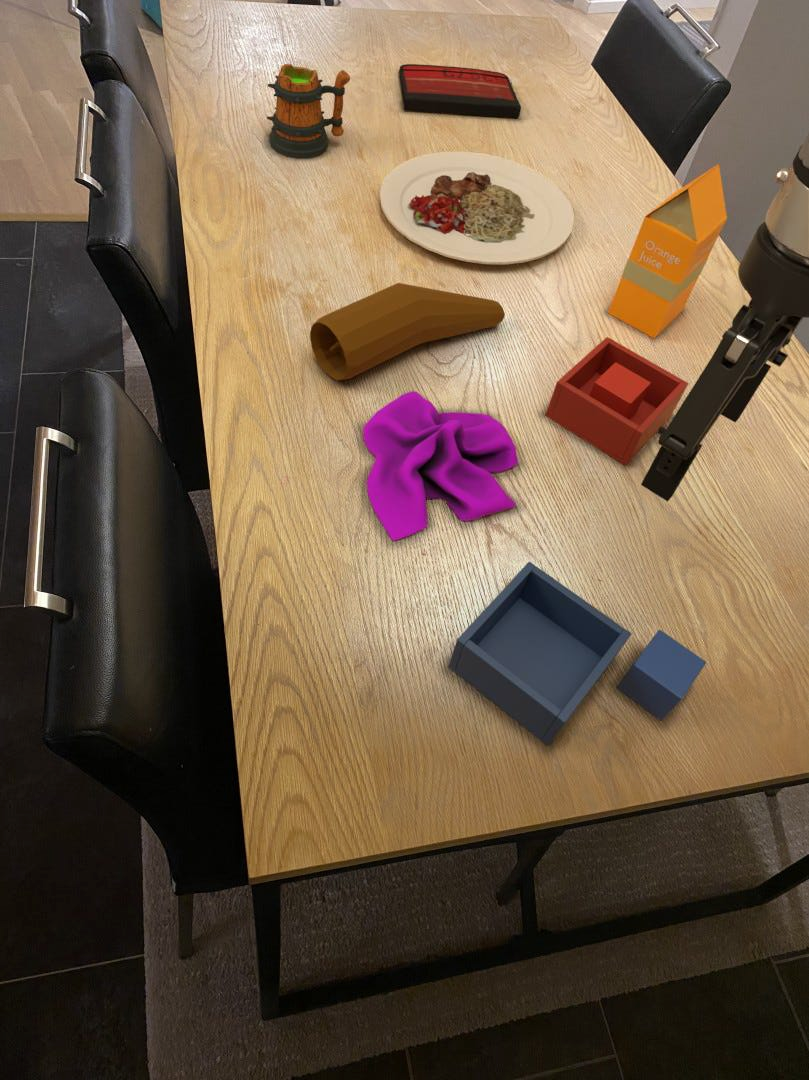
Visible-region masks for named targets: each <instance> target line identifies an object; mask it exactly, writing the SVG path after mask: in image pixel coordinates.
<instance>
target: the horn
mask: <svg viewBox="0 0 809 1080" xmlns="http://www.w3.org/2000/svg"><path fill="white" fill-rule="evenodd" d="M505 316H506V312H505V311H504V308H503V306H502V305H501V304H500V303H499V301H496V300H493V299H489V298H483V297H478V296H472V295H466V294H461V293H456V292H451V291H445V290H441V289H434V288H428V287H423V286H419V285H418V286H417V285H412V284H407V283H401V282H397V283H395V284H393V285H391V286H387V287H385V288H384V289H380V290H379V291H377V292H374V293H372V294H370V295H368V296H365V297H363V298H361V299H358V300H357V301H353V302H352V303H350V304H347V305H345V306H342V307H341V308H339V309H336V310H334V311H332V312H329V313H327V314H325V315H323V316H321V317H319V318H317V320H316V321H315V322H314V323H313V324H312V325H311V328H310V332H309V340H310V344H311V349H312V352H313V354H314V357H315V359H316V361H317V363H318V364H319V366H320V367H321V369H322V370H323V371H324V372H325V373H326V375H328V376H329V377H330V378H332V379H334V380H337V381H343V380H349V379H352V378H354V377H356V376H358V375H359V374H361V373H364V372H366V371H368V370H370V369H371V368H374V367H376V366H378V365H380V364H382V363H384V362H386V361H388V360H390V359H391V358H394V357H396V356H398V355H400V354H402V353H404V352H406V351H408V350H410V349H412V348H414V347H416V346H419V345H422V344H426V343H430V342H434V341H438V340H442V339H447V338H450V337H455V336H459V335H463V334H468V333H472V332H477V331H481V330H485V329H489V328H494V327H496V326H497V325H499V324H500V323H502V322H503V321H504V319H505Z"/></svg>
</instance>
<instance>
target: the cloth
mask: <svg viewBox="0 0 809 1080" xmlns="http://www.w3.org/2000/svg"><path fill="white" fill-rule="evenodd" d="M362 434H363V440H364V444H365V447H366V448H367V450H368V451H369V452H370V453H371V454H372V455H373V456H374V457H375V458H374V462H373V465H372V466H371V469H370V472H369V473H368V475H367V478H366V479H367V480H366V489H367V494H368V498H369V499H368V500H369V502H370V505H371V507H372V509H373V512H374V514H375V516H377V518H378V520H379V522H380V524H381V525H382V526H383V528H384V530H385V531H386V533H387V535H388V537H389V538H390V540H391V541H393V542H396V541H400V540H403V539H406V538H407V537H411V536H412V535H414V534H416V533H418V532H421V531H423V530H424V529H425V528H426V527H427V526H428V523H429V521H428V507H427V500H437V499H440V500H443V501H445V502H446V505H448V507H449V508H450V509H451V510H452V512H453V513H454V514H455V516H456V517H457V518H458V519H459V520H461V522H467V521H474V520H477V519H480V518H482V517H484V516H489V515H492V514H496V513H500V512H503V511H507V510H510V509H512V508H515V507H516V506H517V504H516V503H515V501H513V499H511V497H510V496H509V495H508V494H507V492H506V491H505V490H504V488H503V487H502V486H501V484H499V482H498V480H497V479H496V478H495V477H494V475H493V474H496V473H502V472H506V471H507V470H510V469H511V468H513V467H515V466H516V465H518V464H519V459H518V455H517V447H516V445H515V442H514V441H513V438H512V437H511V435H510V433H509V432H508V430H507V429H506V428H505V427H504V425H503V424H502V423H501V422H500V421H498V420H497V419H496V418H493V415H489V414H485V413H475V412H473V413H472V412H454V411H449V412H440V413H439V412H438V409H437V408H436V406H435V405H434V404H433V403H432V402H431V401H430V400H428V399H426V398H425V397H423V396H422V395H421V394H420V393H419V392H418V391H414V390H413V391H409V392H406V393H403V394H401V395H400V396H398V397H397V398H395V399H394V400H392V401H390V402H389V403H387V404H385V405H384V406H383V407H382V408H379V410H378V411H376V412H375V414H373V416H371V418H370V419H369V420H368V421H367V422H366V423H365V424H364V425H363V427H362Z"/></svg>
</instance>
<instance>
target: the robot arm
mask: <svg viewBox="0 0 809 1080" xmlns="http://www.w3.org/2000/svg"><path fill="white" fill-rule="evenodd" d="M774 181H775V183H777V184H779V185H780V186H781V187H780V190H779V191H777V193H776V194H775V196H774V198H773V200H772V201H771V203H770V206H769V208H768V210H767V211H766V213H765V217H764V222H762V223H761V224H760V225H759V226H758V228H757V229H756V231H755V233H754V235H753V238H752V240H751V241H750V242H749V245H748V246H747V249H746V251H745V253H744V255H743V256H742V259H741V260H740V263H739V265H738V270H737V275H738V280H739V282H740V284H741V286H742V288H743V289H744V290H745V291H746V293H747V294H748V295H749V297H750V300H749V303H748V305H746V304H742V306H741V307H740V308H739V310H738V312H737V313H736V314H735V316H734V317H733V319H732V321H731V327H729V328H728V329H727V330H724V333H723V334H722V336H721V337H722V338H721V340H720V342H719V344H718V346H717V347H716V349H715V351H714V353H713V354H712V356H711V358H710V359H709V361H708V362H707V364H706V366H705V367H704V369H703V371H702V372H701V373H700V375H699V377H698V378H697V380H696V381H695V383H694V384H693V386H692V388H691V389H690V390H689V393H688V394H687V396H686V397H685V399H684V400H683V402H682V404H681V405H680V407H679V408H678V410H677V411H676V413H675V414H674V416H673V418H672V419H671V420H670V422H669V424H668V426H667V427H664V426H660V428H659V430H658V431H657V434H659V435H660V436H659V438H658V440H657V444H658V445H659V446H660V448H659V450H658V452H657V453H656V455H655V457H654V459H653V461H652V463H651V464H650V467H649V469H648V470H647V472H646V474H645V476H644V478H643V480H642V482H641V483H640V485H641V486H642V487H643V488H645V489H646V490H648V491H650V492H651V493H653V494H655V495H656V496H658V497H660V498H661V499H662V500H664V501H666V502H669V501H670V500H671V498H672V497H673V496H674V494H675V492H676V491H677V489H678V487H679V486H680V484H681V482H682V480H683V479H684V477H685V476H686V474H687V472H688V471H689V469H690V467H691V465H692V464H693V462H694V460H695V459H696V457H697V456H698V454H699V452H700V450H701V449H702V447H703V444H701V443H703V440H704V439H705V437H706V436H707V435H708V433H709V432H710V431H711V429H712V427H713V426H714V425H715V423H716V422H717V420H718V419H719V417H720V416H723V417H725V418H726V419H728V420H730V421H731V422H733V423H737V421H738V420H739V419H740V417H741V416H742V414H743V412H744V411H745V410H746V408H747V406H748V405H749V403H750V401H751V400H752V398H753V397H754V395H755V393H756V392H757V390H758V389H759V387H760V385H761V384H762V382H763V381H764V379H765V377H766V376H767V374H768V373H769V371H770V370H771V368H772V365H771V364H768V363H767V362H770V363H772V364H773V365H775V366H777V367H779V368H780V367H781V366H782V365H783V364H784V362H785V361H786V360H787V358H788V356H789V354H787V353H785V352H783V351H782V348H783V349H784V348H785V347H786V346H788V345H789V344H790V342H791V341H792V339H791V338H792V336H793V334H794V333H795V331H796V330H797V328H798V326H800V324H801V323H802V322H803V320H804V318H808V319H809V132H808V134H807V136H806V138H805V140H804V142H803V143H802V144H801V145H800V146H799V148H798V151H797V153H796V154H795V157H794V158H793V161H792V164H791V165H790V167H789V169H788V168H785V167H782V168H781V169H779V171H778V172H777V173H776V174H775V176H774Z"/></svg>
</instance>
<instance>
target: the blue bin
mask: <svg viewBox="0 0 809 1080" xmlns="http://www.w3.org/2000/svg"><path fill="white" fill-rule="evenodd" d="M632 634H633V633H632V632H630V631H629V630H628V629H626V628H625V627H623V626H622V625H621V624H620V623H618V622H616V621H614V620H613V619H612V618H610V617H609V616H608V615H606V614H605V613H604V612H602V611H600V610H599V609H598V608H596V607H595V606H593V605H592V604H591V603H590V602H588V601H586V600H585V599H584V598H582V597H581V596H579V595H578V594H577V593H575V592H573V591H572V590H570V589H569V588H568V587H566V586H565V585H564V584H562V583H561V582H560V581H558V580H557V579H555V578H554V577H552V576H551V575H550V574H548V573H547V572H545V571H544V570H543V569H541V568H539V566H536V565H535V564H534V563H532V562H531V561H528V562H526V564H525V565H524V566H523V567H522V568H521V570H520V571H519V572H518V573H517V574H516V575H515V576H514V577H513V578H512V579H511V581H510V582H508V584H507V585H506V586H504V588H503V589H502V590H501V591H500V592H499V593H498V594H497V596H496V597H494V599H493V600H492V601H491V602H490V603H489V604H488V606H487V607H485V609H483V610H482V612H481V613H480V614H479V615H478V616H477V617H476V619H474V620H473V621H472V623H471V624H470V625H469V626H468V627H467V628H466V629H465V630H464V631H463V632H462V633H461V634H460V636H459V637H458V638H457V639H456V642H455V645H454V648H453V650H452V654H451V657H450V660H449V663H448V666H447V667H448V668H449V669H450V670H451V671H452V672H453V673H455V674H456V675H457V676H458V677H460V678H461V679H463V680H464V681H465V682H466V683H467V684H468V685H470V686H471V687H473V688H474V689H475V690H476V691H477V692H479V693H480V694H481V695H482V696H484V697H485V698H487V699H488V700H489V701H490V702H492V703H493V704H494V705H495V706H496V707H498V708H499V709H500V710H502V712H504V713H505V714H507V715H508V716H509V717H511V718H512V719H513V720H514V721H516V723H518V724H519V725H521V726H522V727H523V728H524V729H526V731H528V732H529V733H530V734H532V735H533V736H534V737H536V738H537V739H538V740H540V741H541V742H542V743H543V744H544V745H546V746H547V747H549V746H550V745H551V744H552V743H553V741H554V740H555V738H556V737H557V736H558V734H559V733H560V732H561V731H562V729H563V728H564V726H565V725H566V724H567V723H568V721H569V720H570V719H571V717H572V716H573V714H574V713H575V712H576V710H577V709H578V708H579V706H581V704H582V702H583V701H584V700H585V698H586V697H587V696H588V694H589V693H590V692H591V690H592V689H593V688H594V687H595V685H596V684H597V682H599V680H600V678H601V677H602V676H603V674H604V673H605V672H606V670H607V669H608V668H609V666H610V665H611V664H612V662H613V661H614V660H615V658H616V657H617V656H618V654H619V653H620V652H621V650H622V649H623V647H624V646H625V644H626V643H627V642H628V640H629V639H630V638H631V636H632Z"/></svg>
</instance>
